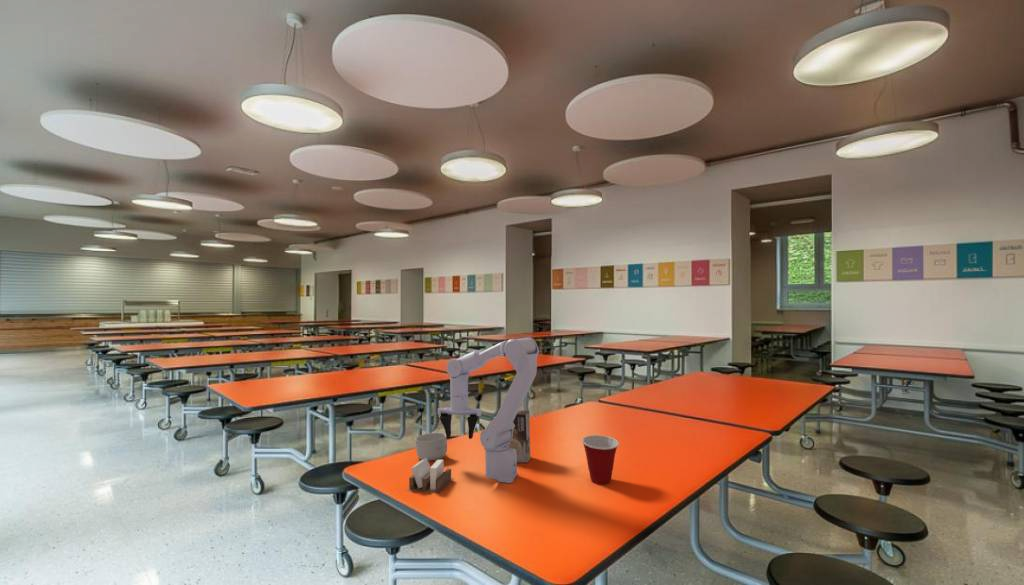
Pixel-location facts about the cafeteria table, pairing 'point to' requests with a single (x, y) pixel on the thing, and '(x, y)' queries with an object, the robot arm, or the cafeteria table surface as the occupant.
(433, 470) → the white upright slab
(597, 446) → the plastic cup
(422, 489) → the rack
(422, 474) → the racked plate
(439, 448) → the teacup
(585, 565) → the cafeteria table surface
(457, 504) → the cafeteria table surface
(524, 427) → the coffee box
